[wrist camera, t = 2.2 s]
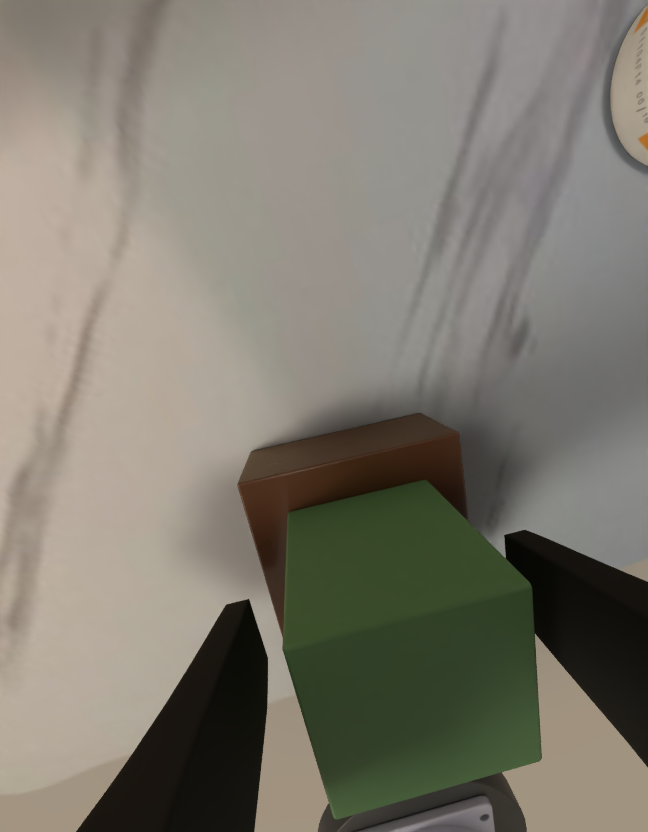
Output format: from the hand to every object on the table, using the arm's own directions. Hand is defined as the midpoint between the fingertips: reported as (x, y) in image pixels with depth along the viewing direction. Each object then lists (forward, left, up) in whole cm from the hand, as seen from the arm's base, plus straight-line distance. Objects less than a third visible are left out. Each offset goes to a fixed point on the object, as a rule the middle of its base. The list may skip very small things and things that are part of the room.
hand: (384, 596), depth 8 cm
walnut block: (0, 0, -5) cm, 5 cm away
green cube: (0, 0, -2) cm, 2 cm away
